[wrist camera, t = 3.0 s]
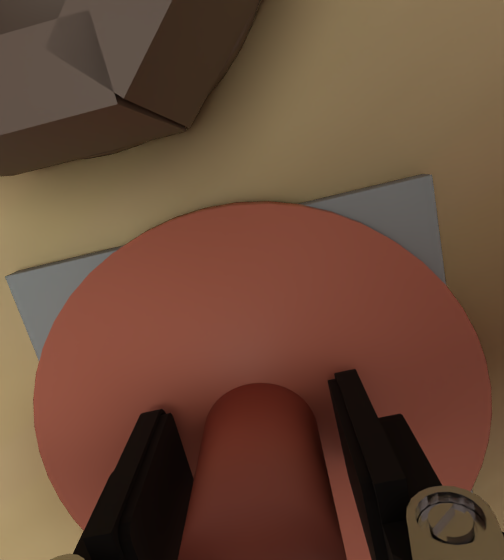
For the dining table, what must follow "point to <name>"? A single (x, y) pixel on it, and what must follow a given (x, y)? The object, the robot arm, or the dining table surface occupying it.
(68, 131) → the bowl
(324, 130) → the dining table surface
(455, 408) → the lid
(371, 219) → the mat
